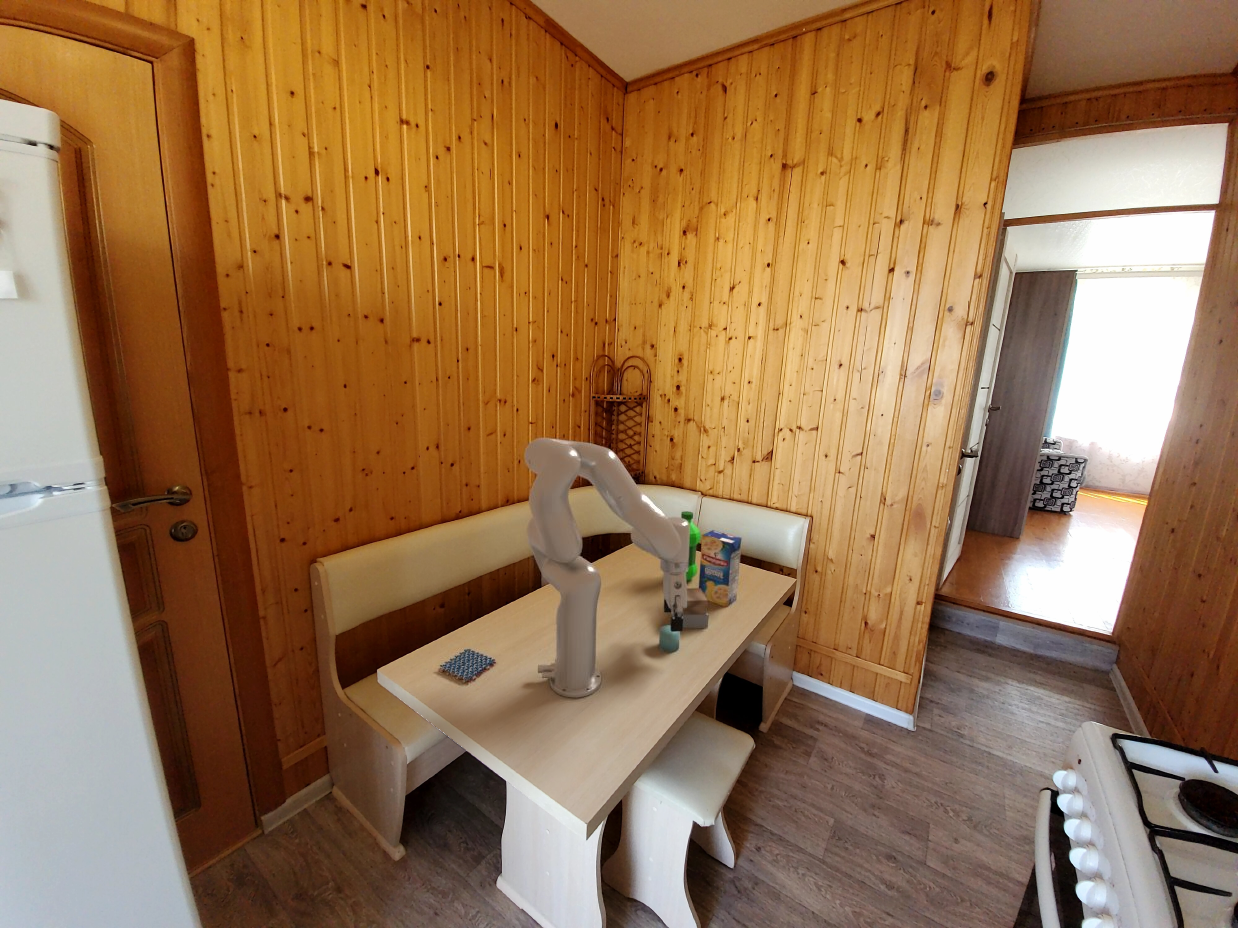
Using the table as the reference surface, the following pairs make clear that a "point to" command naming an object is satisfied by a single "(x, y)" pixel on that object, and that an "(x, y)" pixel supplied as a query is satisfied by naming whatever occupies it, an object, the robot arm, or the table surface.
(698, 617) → the tower base
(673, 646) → the blue egg-shaped pebble
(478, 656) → the woven mat
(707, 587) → the beverage box
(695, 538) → the green soda bottle
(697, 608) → the tower top
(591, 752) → the table surface
